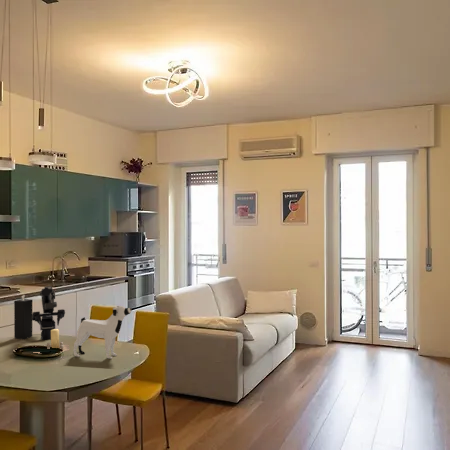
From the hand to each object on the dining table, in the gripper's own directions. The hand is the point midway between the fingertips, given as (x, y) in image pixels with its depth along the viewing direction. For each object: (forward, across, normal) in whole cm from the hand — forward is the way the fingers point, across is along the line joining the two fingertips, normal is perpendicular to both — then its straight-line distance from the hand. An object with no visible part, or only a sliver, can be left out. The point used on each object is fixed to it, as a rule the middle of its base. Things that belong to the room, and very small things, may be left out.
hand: (50, 326), depth 280 cm
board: (+16, -4, +1) cm, 17 cm away
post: (+16, +1, 0) cm, 16 cm away
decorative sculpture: (+36, +22, -18) cm, 46 cm away
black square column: (-14, -12, +32) cm, 36 cm away
